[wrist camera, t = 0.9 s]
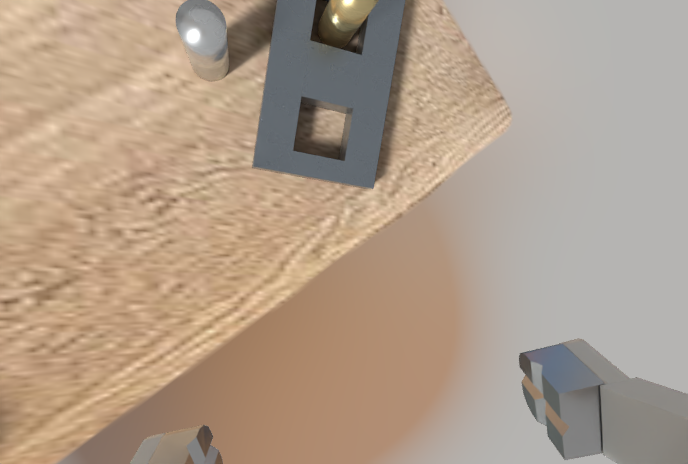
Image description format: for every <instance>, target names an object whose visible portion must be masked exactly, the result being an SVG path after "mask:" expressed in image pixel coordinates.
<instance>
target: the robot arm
mask: <svg viewBox="0 0 688 464" xmlns="http://www.w3.org/2000/svg"><path fill="white" fill-rule="evenodd" d="M519 365H520V368H521V369H522V371H523V372H524V373H525V377H524V379H523V380H522V388H523V393H524V397H525V399H526V402H527V405H528V407H529V409H530V411H531V413H532V414H533V416H534V417H535V419H536V420H537V421H538V422H540V423H541V424H544V425H545V426H547V434H548V437H549V439H550V440H551V442H552V443H553V444H554V445H555V447H556V448H557V450H558V451H559V453H560V454H561V455H562V457H563V458H564V460H568V459H573V458H579V457H584V456H590V455H595V454H600V453H603V455H604V456H606V457H608V458H609V459H611V460H612V461H614V462H616V463H617V464H688V394H686V393H683V392H680V391H677V390H674V389H671V388H667V387H665V386H662V385H659V384H655V383H652V382H649V381H646V380H643V379H640V378H637V377H636V378H632V379H630V378H629V377H628V376H626V375H625V374H624V373H623V372H622V371H620V370H619V369H618V368H617V367H616V366H614V365H613V364H612V363H611V362H610V361H608V360H607V359H606V358H605V357H604V356H602V355H601V354H600V353H599V352H598V351H596V350H595V349H594V348H593V347H592V346H590V345H589V344H588V343H587V342H586V341H584V340H582V339H575V340H571V341H567V342H563V343H559V344H558V345H554V346H549V347H544V348H540V349H536V350H532V351H527V352H523V353H520V355H519ZM212 439H213V435H212V433H211V431H210V429H209V427H208V426H205V425H201V426H196V427H191V428H187V429H182V430H177V431H171V432H167V433H163V434H158V435H154V436H149V437H148V438H146V439H145V440H144V441H143V442H142V444H141V445H140V447H139V449H138V451H137V453H136V454H135V456H134V457H133V459H132V461H131V463H130V464H223V461H222V457H221V454H220V452H219V450H218V449H216V448H215V447H213V446H211V445H210V444H211V441H212Z"/></svg>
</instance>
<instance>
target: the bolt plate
mask: <svg viewBox="0 0 688 464" xmlns="http://www.w3.org/2000/svg"><path fill="white" fill-rule="evenodd" d="M324 1H327V2H328V4H327V6H326V9H325V11H324V13H323V15H322V17H321V19H320V21H319V24H318V34H319V37H320V39H321V41H322V42H323V43H324V44H321V43H318V42H314V41H311V40H310V38H311V31H312V25H313V18H314V12H315V5H316V0H277V3H276V9H275V16H274V23H273V30H272V36H271V43H270V50H269V57H268V63H267V70H266V77H265V84H264V90H263V97H262V104H261V111H260V117H259V124H258V131H257V138H256V144H255V151H254V158H253V165H252V168H254V169H260V170H265V171H271V172H276V173H282V174H287V175H292V176H298V177H303V178H309V179H314V180H320V181H325V182H331V183H336V184H342V185H347V186H353V187H358V188H364V189H373V188H374V182H375V176H376V170H377V164H378V159H379V153H380V147H381V141H382V135H383V129H384V123H385V117H386V111H387V105H388V99H389V93H390V88H391V82H392V76H393V70H394V64H395V58H396V52H397V46H398V40H399V34H400V28H401V22H402V17H403V11H404V5H405V0H324ZM360 25H361V26H360ZM359 27H360V32H359V38H358V44H357V50H356V53H353V52H349V51H346V50H342V49H340V48H343V47H344V46H345V45H346V44H347V43H348V42H349V41H350V39H351V38H352V36H353V35H354V34H355V32H356V31H357V30H358V28H359ZM300 103H303V104H307V105H312V106H316V107H320V108H324V109H328V110H333V111H337V112H341V113H345V114H346V118H345V124H344V130H343V136H342V142H341V149H340V155H339V160H336V159H331V158H327V157H322V156H317V155H312V154H307V153H302V152H297V151H293V148H294V141H295V135H296V128H297V122H298V115H299V109H300Z"/></svg>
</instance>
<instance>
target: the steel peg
mask: <svg viewBox="0 0 688 464" xmlns="http://www.w3.org/2000/svg"><path fill="white" fill-rule="evenodd" d="M176 26H177V29H178V32H179V34H180V37H181V40H182V42H183V45H184V47H185V50H186V53H187V55H188V58H189V60H190V63H191V66H192V68H193V70H194V72H195V73H196V74H197V75H198V76H199V77H200V78H202V79H204V80H207V81H218V80H220V79H222V78H224V77H225V76H226V74H227V72H228V70H229V53H228V41H227V28H226V21H225V18H224V15H223V14H222V12H221V11H220V9H219V8H218V7H217V6H216V5H215V4H213V3H212V2H210V1H208V0H188V1H186V2H184V3H183V4H182V5H181V6H180V7H179V9H178V11H177V14H176Z"/></svg>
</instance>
